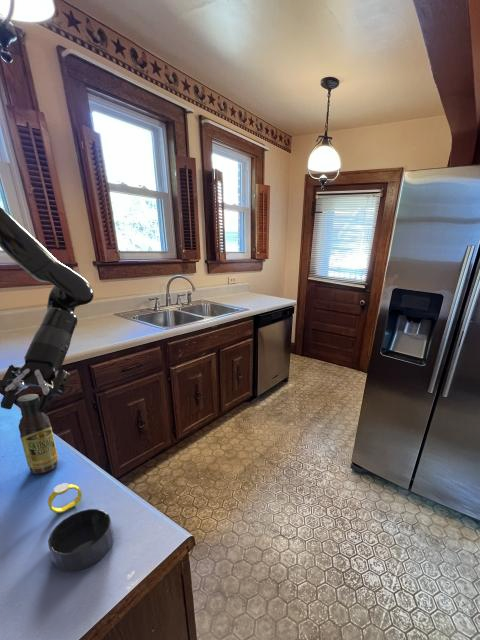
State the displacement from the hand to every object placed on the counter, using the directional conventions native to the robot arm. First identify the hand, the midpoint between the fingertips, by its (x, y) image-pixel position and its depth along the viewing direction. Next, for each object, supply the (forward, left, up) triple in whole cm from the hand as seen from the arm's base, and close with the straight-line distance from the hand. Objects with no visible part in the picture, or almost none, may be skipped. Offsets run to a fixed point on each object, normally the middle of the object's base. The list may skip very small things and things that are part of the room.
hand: (22, 410), depth 72 cm
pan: (+27, -14, -18) cm, 35 cm away
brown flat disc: (0, +1, -18) cm, 18 cm away
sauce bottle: (0, +2, -18) cm, 18 cm away
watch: (+16, -7, -18) cm, 25 cm away
